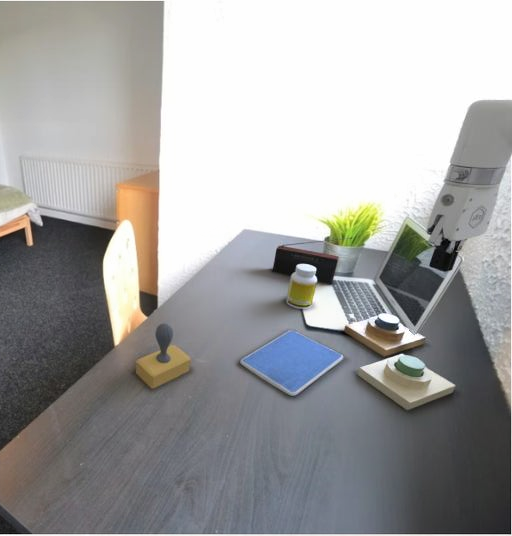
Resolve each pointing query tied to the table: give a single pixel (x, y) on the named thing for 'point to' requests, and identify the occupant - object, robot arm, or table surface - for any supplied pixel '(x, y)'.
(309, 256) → the radio
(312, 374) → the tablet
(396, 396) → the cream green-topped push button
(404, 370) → the green button
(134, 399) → the table surface
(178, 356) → the rubber stamp
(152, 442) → the table surface
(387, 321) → the blue button
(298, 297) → the pill bottle
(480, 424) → the table surface
